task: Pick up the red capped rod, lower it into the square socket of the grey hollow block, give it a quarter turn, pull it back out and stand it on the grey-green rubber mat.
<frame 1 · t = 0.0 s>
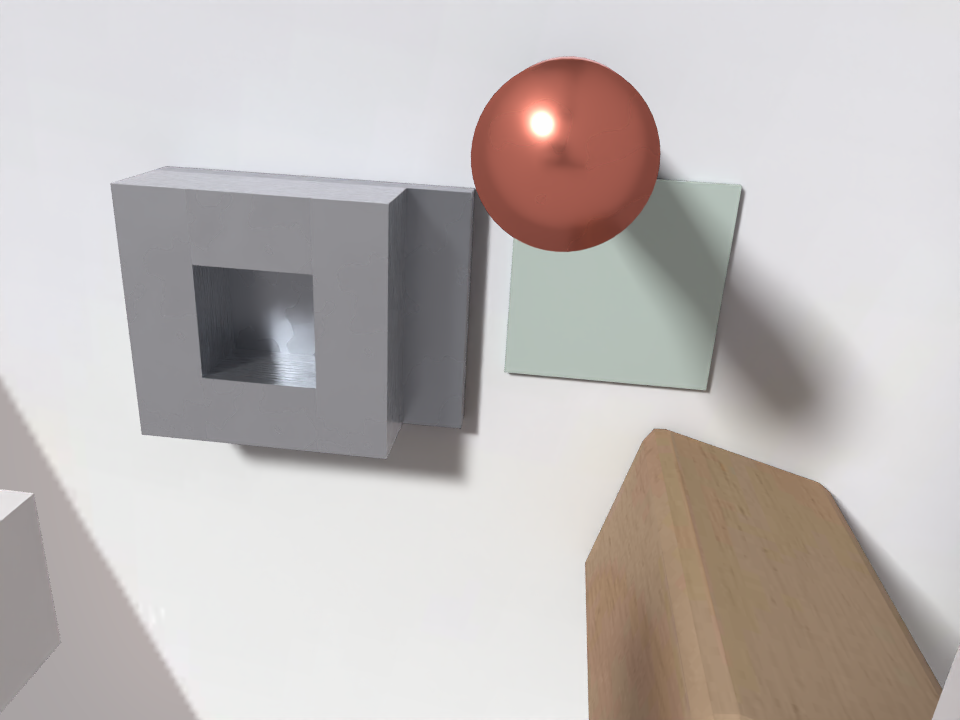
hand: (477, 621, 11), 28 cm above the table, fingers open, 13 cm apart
mat: (615, 282, 38), on the table
grey hollow block: (321, 297, 40), on the table
red capped rod: (568, 103, 35), on the table
wooden block: (699, 522, 42), on the table
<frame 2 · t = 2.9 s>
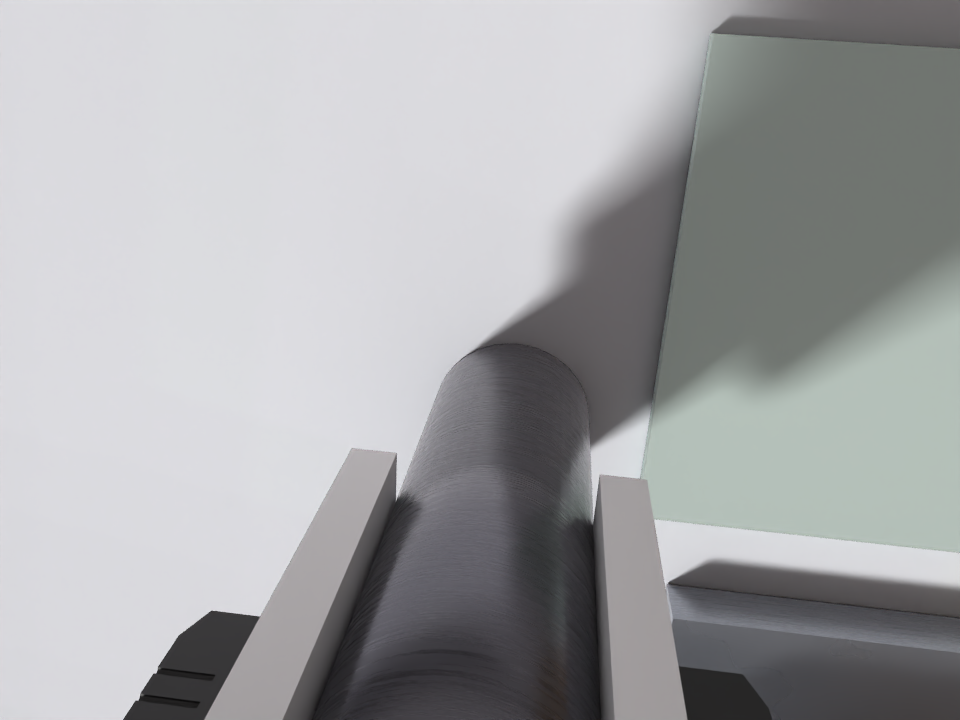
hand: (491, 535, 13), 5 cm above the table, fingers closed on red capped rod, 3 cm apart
mat: (922, 321, 16), on the table
red capped rod: (511, 415, 17), on the table, touching gripper
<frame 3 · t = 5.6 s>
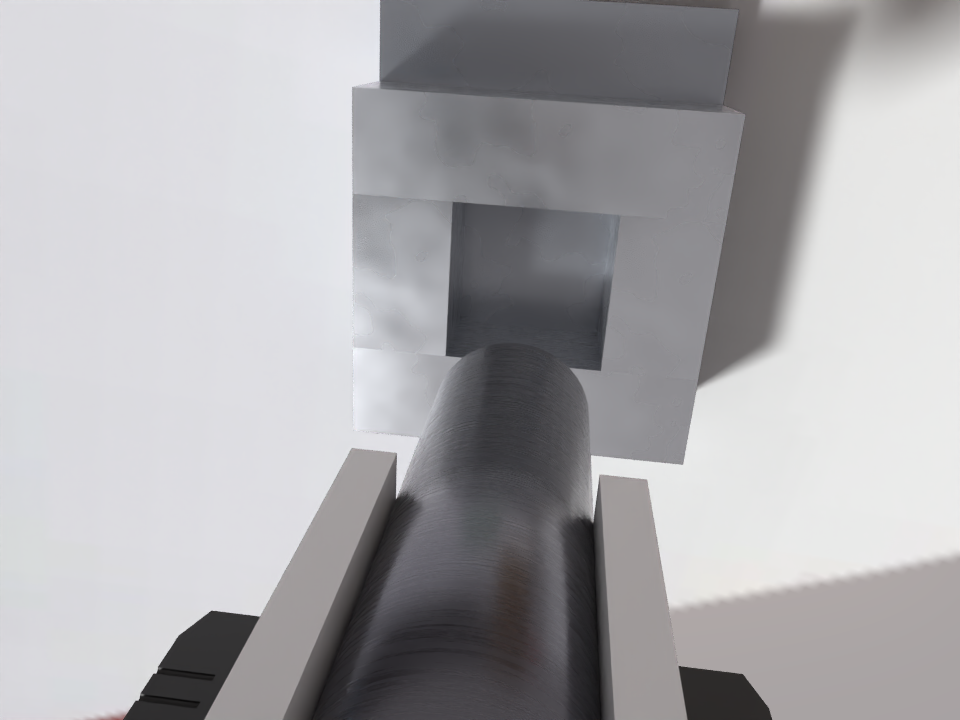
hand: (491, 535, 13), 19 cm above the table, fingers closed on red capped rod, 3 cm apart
grey hollow block: (538, 213, 30), on the table
red capped rod: (511, 414, 17), point 15 cm above the table, touching gripper
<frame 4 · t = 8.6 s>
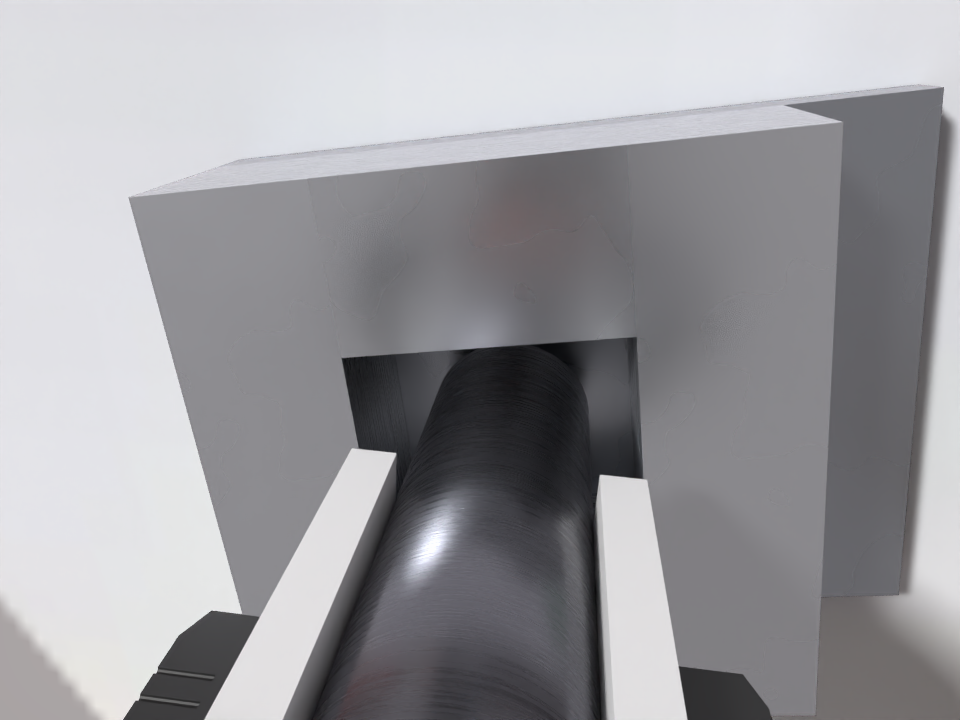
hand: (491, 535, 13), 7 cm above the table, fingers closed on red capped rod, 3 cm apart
grey hollow block: (577, 373, 20), on the table
red capped rod: (511, 414, 17), point 3 cm above the table, touching gripper
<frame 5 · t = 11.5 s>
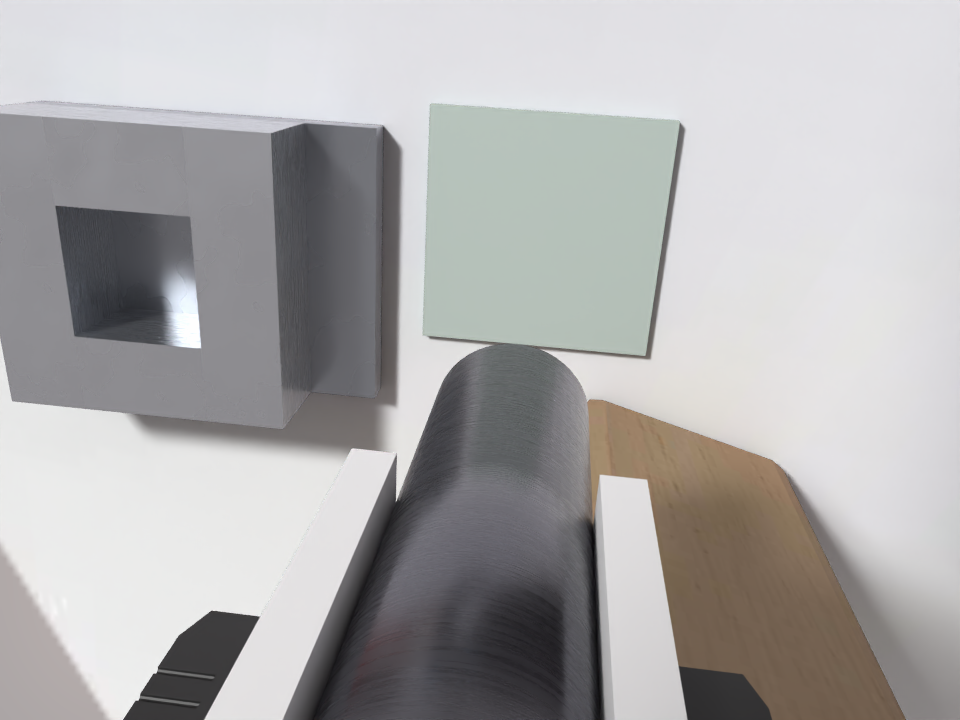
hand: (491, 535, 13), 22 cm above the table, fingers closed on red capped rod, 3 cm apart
mat: (542, 233, 34), on the table
grey hollow block: (218, 251, 36), on the table
red capped rod: (511, 415, 18), point 18 cm above the table, touching gripper
wooden block: (642, 504, 38), on the table
when the fingers open (6 cm above the table, at t = 14.2 s): red capped rod stays where it is, resting on mat.
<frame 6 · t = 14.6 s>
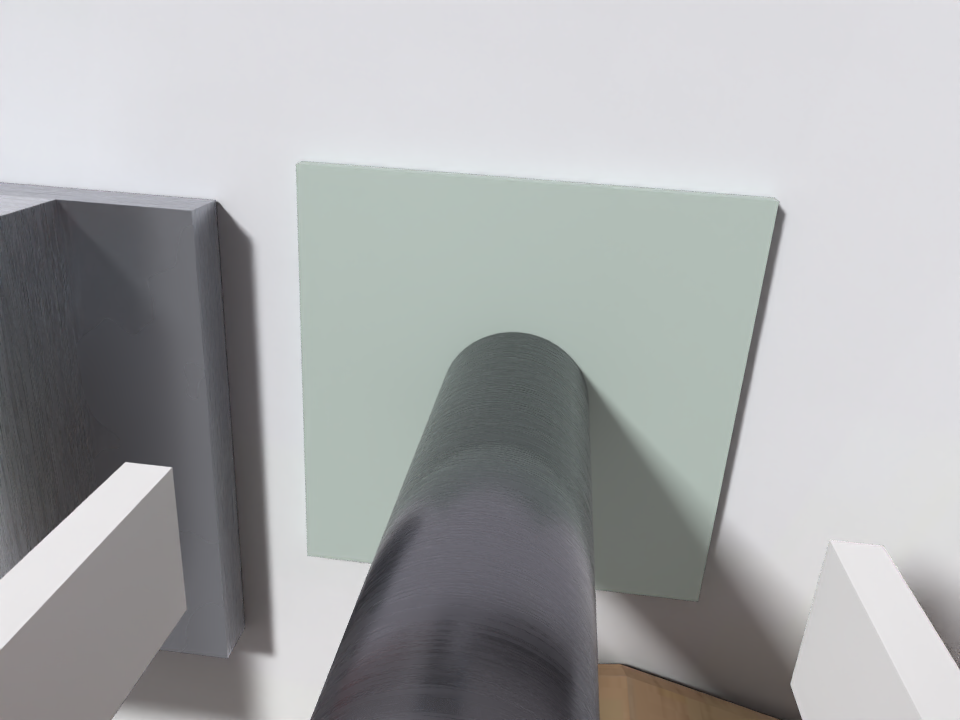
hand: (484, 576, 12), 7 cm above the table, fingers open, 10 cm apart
mat: (514, 393, 19), on the table
red capped rod: (514, 401, 18), resting on mat
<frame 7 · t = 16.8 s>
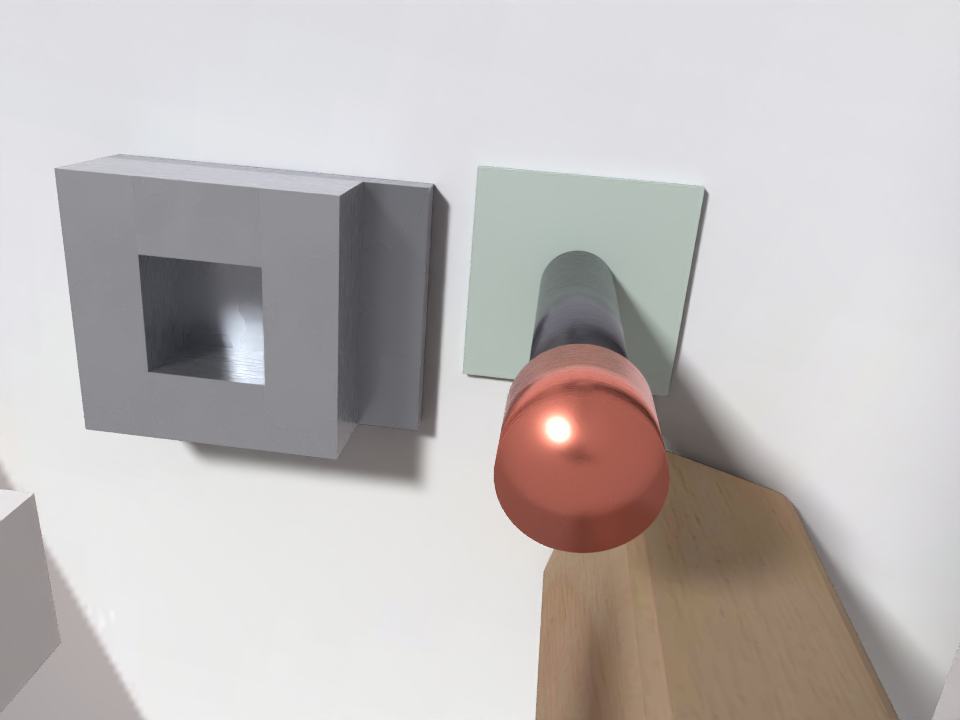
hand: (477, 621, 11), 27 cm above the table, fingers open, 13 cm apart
mat: (576, 283, 37), on the table
grey hollow block: (276, 292, 39), on the table
red capped rod: (576, 286, 37), resting on mat
wooden block: (660, 532, 42), on the table
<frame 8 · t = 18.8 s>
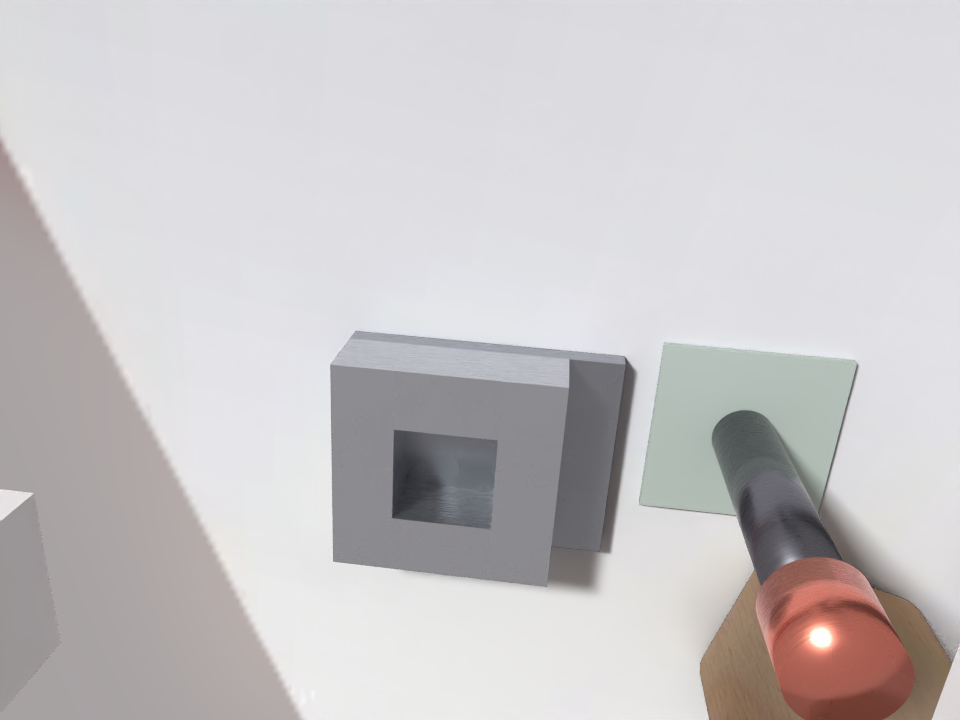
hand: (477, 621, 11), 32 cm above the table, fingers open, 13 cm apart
mat: (741, 434, 44), on the table
grey hollow block: (481, 439, 46), on the table
red capped rod: (743, 437, 44), resting on mat
wooden block: (800, 629, 49), on the table
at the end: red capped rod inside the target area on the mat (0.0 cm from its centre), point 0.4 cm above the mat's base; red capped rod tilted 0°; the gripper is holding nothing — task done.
